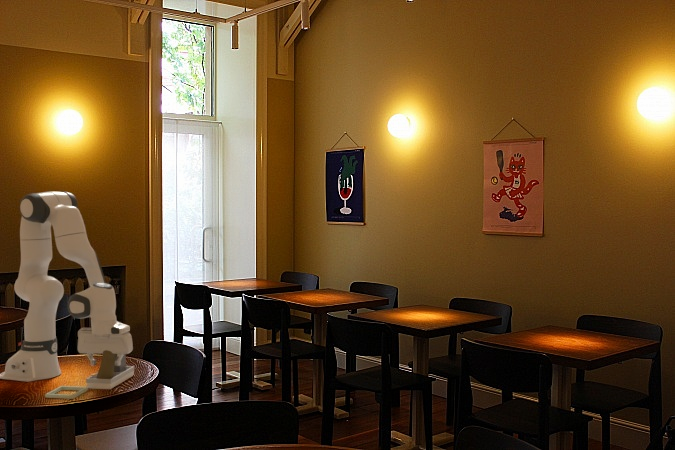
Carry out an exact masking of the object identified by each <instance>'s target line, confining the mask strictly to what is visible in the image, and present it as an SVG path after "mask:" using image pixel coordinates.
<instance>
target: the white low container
mask: <svg viewBox="0 0 675 450" xmlns="http://www.w3.org/2000/svg"><path fill="white" fill-rule="evenodd" d="M97 374H98V372H95V373H91V374H89V375H90V376H89V377H86V379H85V383H86V387H88V389H95V390H96V389H97V390H98V389H99V390H100V389H101V390H111V389H113V388H114V387H117V386H119V385H120V384H122V383H123V382H125V381H127V380H129V379H130V378H132V377H133V375H135V365H133V366H132V365H131V366H130V365H126V370H125V371H124V372H114V377H113V378H111V379H97V378H96V377H97Z"/></svg>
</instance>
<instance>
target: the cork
mask: <svg viewBox="0 0 675 450" xmlns="http://www.w3.org/2000/svg"><path fill="white" fill-rule="evenodd" d="M101 356H102V359H101V362H100V366H99V369H98V371H97V373H98V374H97V377H96V378H97V379H111V378H113V377H114V363H115V358H116V357H117V354H113V353H112V352H111V351H108V350H105V351H103V354H102V355H101Z"/></svg>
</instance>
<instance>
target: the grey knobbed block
mask: <svg viewBox="0 0 675 450" xmlns="http://www.w3.org/2000/svg"><path fill="white" fill-rule="evenodd" d="M126 355H127V354H124V356H123V357H122V359H121V365H120V366H115V363H114V372H124V371H125V370H126V366H127V358H126ZM118 358H119V357H116V358H115V361H116V360H118Z"/></svg>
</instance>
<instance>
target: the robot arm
mask: <svg viewBox="0 0 675 450" xmlns="http://www.w3.org/2000/svg"><path fill="white" fill-rule="evenodd" d="M78 207H79V204H78V200H77V197H76V196H75V195H74V194H73V193H71V192H70V191H69V192H68V191H65V190H64V191H63V190H60V191H57V190H56V191H54V190H53V191H43V192H36V193H35V192H34V193H33V192H32V193H29V194H26V195H23V197H22V198H21V199H20V202H19V208H18V209H19V212H20V215H21V218H20V227H19V240H20V245H19V246H20V266H19V271H18V277H17V279H16V280H15V283H14V288H13V289H14V292H15V294H16V295H17V297H19V298H20V299H22V300H23V301H26V302H29V307H28V311H27V314H26V317H25V318H24V320H23V324H24V325H23V327H24V328H23V329H24V330H23V331H24V340H23V339H22V340H21V341H19V342H18V345H17V346H21V347H20V349H19V350H18V351H17V352H16V353H14V354H13V355H12V356H11V357H9V358H8V360H7V361H6V362H5V367H4V368H5V369H4V371H2V372H1V373H0V379H2V380H10V381H20V382H26V383H27V382H34V381H40V380H47V379H51V378H54V377H58V376H60V375H61V374H62V371H61V368H60V363H59V359H58V337H57V336H56V318H57V310H58V308H59V307H58V306H59V304H60V301H61V300H62V298H63V296H64V294H65V293H64V292H65V289H64V285H63V284H62V282H61V281H59V280H58V279H57V278H55V277H54V276H51V275H48V271H49V270H48V269H49V265H50V262H51V261H52V259H53V244H52V242H53V241H52V229H53V234H54V241H55V246H56V249H57V251H58V253H59V254H60V255H61V257H63V258H64V259H67V260H69V261H71V262H75V263H77V264H78V265H80V266H81V267H82V268H83V269H84V272H85V275H86V278H87V281H88V284H89V287H88V288H86V289H85V290H81V291H79V292H75V293H73V294H72V295H70V296H69V299H68V300H67V310H68V312H69V314H70V316H71V317H73V318H74V319H82V320H83V319H86V318H90V324H91V325H90V326H91V327H81V328H80V329H79V330H78V331H77V337H78V339H77V352H78V353H79V354H86V355H87V359H88V360H89V362H90V366H97V364H98V363H97V362H98V361H97V359H95V358H94V355H96V354H99V355H101V354H103V351H105V350H108V351H111V352H112V353H113V354H117V357H119V358H118V360H116V361H115V366H120V365H121V359H122V357H123V356H124V354H126V355H128V354H130V353H131V352H132V351H133V350H134V346H133V345H134V344H133V338H132V337H133V336H132V334H131V333H130V330H131V327H130V325H128V324H125V323H122V322H121V321H118V320H117V315H116V309H117V299H116V293H115V288H114V287H113V285H111V284H110V283H107V282H106V281H107V280H106V278H105V274H104V272H103V268H102V265H101V262H100V259H99V256H98V255H97V254H98V253H97V252H96V250H95V249H94V248H93V247H92V246H91V244H90V241H89V239H88V233H87V230H86V225H85V223H84V219H83V216H82V214H81V212H80V210H79V208H78ZM51 228H52V229H51Z"/></svg>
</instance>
